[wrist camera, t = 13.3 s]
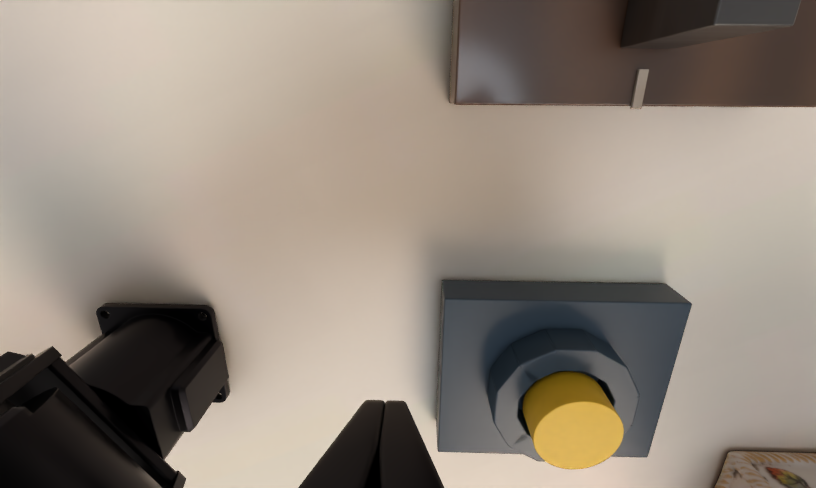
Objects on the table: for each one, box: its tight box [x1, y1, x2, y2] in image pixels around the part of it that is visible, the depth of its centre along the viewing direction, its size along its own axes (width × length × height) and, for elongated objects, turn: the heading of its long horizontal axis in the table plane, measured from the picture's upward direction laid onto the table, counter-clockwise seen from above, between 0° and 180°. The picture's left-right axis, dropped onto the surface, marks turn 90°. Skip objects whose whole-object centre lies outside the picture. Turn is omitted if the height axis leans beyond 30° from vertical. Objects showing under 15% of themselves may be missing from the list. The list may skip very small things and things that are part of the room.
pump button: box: [522, 371, 624, 469], centre depth 19 cm, size 4×4×2 cm
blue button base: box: [436, 280, 692, 461], centre depth 21 cm, size 12×10×4 cm
